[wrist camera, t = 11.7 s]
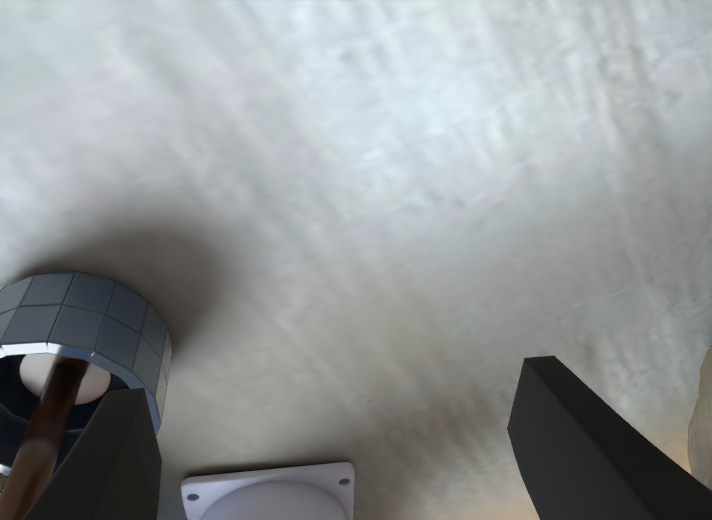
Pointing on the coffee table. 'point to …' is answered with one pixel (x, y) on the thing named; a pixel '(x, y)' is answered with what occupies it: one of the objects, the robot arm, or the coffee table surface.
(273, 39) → the coffee table surface
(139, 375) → the stir bowl
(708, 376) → the bowl
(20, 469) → the wooden stamp
